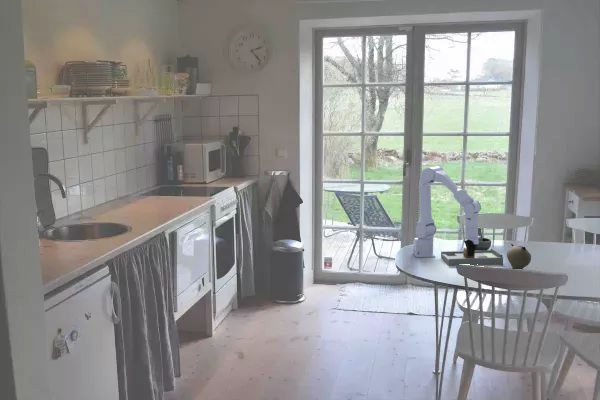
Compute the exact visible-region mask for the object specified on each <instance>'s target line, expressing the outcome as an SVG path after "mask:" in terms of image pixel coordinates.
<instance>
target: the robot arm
mask: <svg viewBox="0 0 600 400" xmlns="http://www.w3.org/2000/svg"><path fill="white" fill-rule="evenodd" d="M436 182H437V183H441V184H442V185H443V186H445V188H447V189H448V190H449V191H450V192H451V193H453V198H454V199H455V200H456V201H457V202H458V204H459V205H460V206H461V207H463V208H462V210H463V212H464V217H465V220H464V221H465V223H464V233H463V238H464V240H463V242H464V244H465V248H467V253H468V256H473V255H474V252H475V249H476V246H477V245H478V244H479V240H478V238H480V236H478V228H479V212H480V211H481V210H482V205H481V203H480V201H479V200H477V199H474V198H473V197H472V196H471V195H469V194H468V192H467V190H466V189H464V188H459V187H458V186H457V184H456V183H455V182H454V181H453V180H452V179H451V177H450V176H449V174H448V173H447V171H446V170H445V169H443V167H442V166H440V165H437V166H433V167H426V168H424V169H423V170H422V171H421V175H420V178H419V181H418V197H419V219H418V221H417V222H416V228H415V234H416V237H414V238H413V241H412V254H413V255H414V256H415V257H416V258H433V257H435V258H436V255H435V254H434V235H436V233H437V226H436V224H435V223H436V222H435V220H434V219H433V217H432V197H431V196H432V193H431V186H432V185H433V184H434V183H436ZM465 239H466V240H465Z"/></svg>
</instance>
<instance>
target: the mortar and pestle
mask: <svg viewBox="0 0 600 400" xmlns="http://www.w3.org/2000/svg"><path fill="white" fill-rule="evenodd" d="M478 236H480V238H478V240H479V244H478V245H477V246H476V249H475V251H481V250H489V249H491V247H492V239H490V238H487V237H483V233H482V227H478Z"/></svg>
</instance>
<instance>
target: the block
mask: <svg viewBox="0 0 600 400" xmlns="http://www.w3.org/2000/svg"><path fill="white" fill-rule="evenodd" d="M463 251H464V253H463V256H464V257H465V258H475V252H474V255H473V256H468V253H467V248H466V247H463Z"/></svg>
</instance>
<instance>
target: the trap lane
mask: <svg viewBox="0 0 600 400" xmlns="http://www.w3.org/2000/svg"><path fill="white" fill-rule="evenodd" d="M463 253H464V250H451V251H450V250H447V251H442V250H441V251H440V259H441V260H442V261H443V262H444V263H446V264H447V265H448V266H449V267H458V266H457V265H459V264H470V265H469V266H500V265H501V266H502V265H504V257H503V254H502V253H501V252H499V251H498V250H496V249H495V248H492V247H490V250H489V249H488V250H481V251H475V258H465V257H464V256H463ZM477 264H478V265H477Z"/></svg>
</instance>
